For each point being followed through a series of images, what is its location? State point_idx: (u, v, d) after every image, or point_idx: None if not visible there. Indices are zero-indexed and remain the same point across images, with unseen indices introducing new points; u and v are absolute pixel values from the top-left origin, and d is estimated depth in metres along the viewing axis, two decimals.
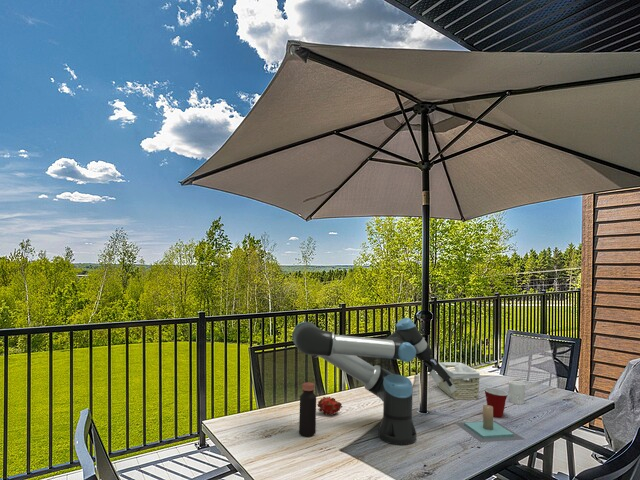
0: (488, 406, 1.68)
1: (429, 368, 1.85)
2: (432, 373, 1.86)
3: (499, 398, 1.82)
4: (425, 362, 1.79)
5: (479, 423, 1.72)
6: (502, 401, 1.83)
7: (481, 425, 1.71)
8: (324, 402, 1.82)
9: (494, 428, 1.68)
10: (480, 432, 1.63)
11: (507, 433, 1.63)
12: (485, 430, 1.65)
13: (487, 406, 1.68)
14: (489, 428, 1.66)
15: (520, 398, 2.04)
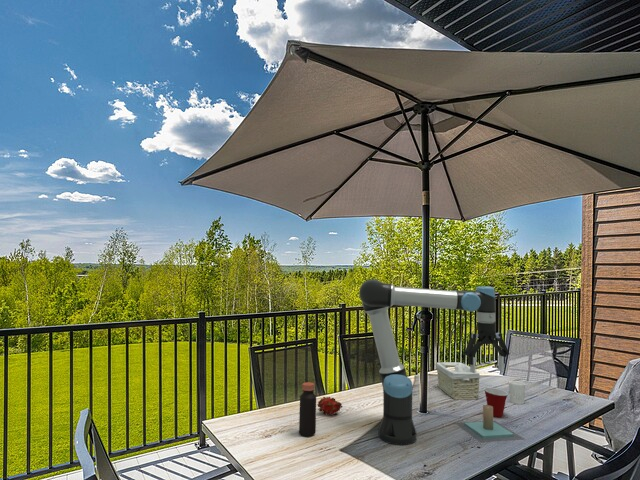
0: (488, 406, 1.68)
1: (497, 350, 1.72)
2: (499, 358, 1.72)
3: (499, 398, 1.82)
4: None
5: (479, 423, 1.72)
6: (502, 401, 1.83)
7: (481, 425, 1.71)
8: (324, 402, 1.82)
9: (494, 428, 1.68)
10: (480, 432, 1.63)
11: (507, 433, 1.63)
12: (485, 430, 1.65)
13: (487, 406, 1.68)
14: (489, 428, 1.66)
15: (520, 398, 2.04)
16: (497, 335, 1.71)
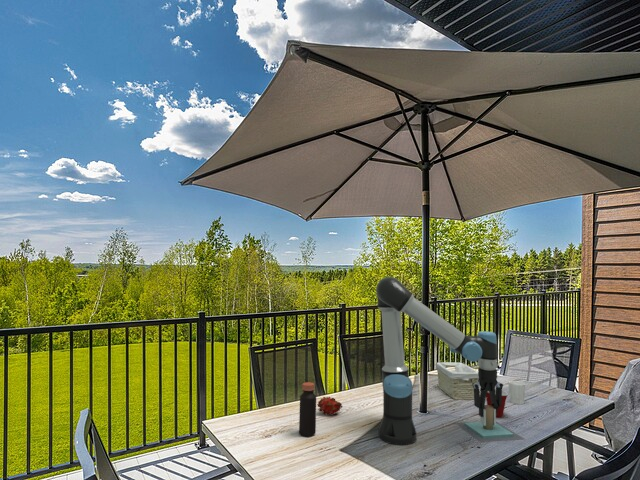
0: (488, 406, 1.68)
1: (491, 400, 1.69)
2: None
3: None
4: None
5: (479, 423, 1.72)
6: (502, 401, 1.83)
7: (481, 425, 1.71)
8: (324, 402, 1.82)
9: (494, 428, 1.68)
10: (480, 432, 1.63)
11: (507, 433, 1.63)
12: (485, 430, 1.65)
13: (487, 406, 1.68)
14: (489, 428, 1.66)
15: (520, 398, 2.04)
16: (498, 384, 1.70)
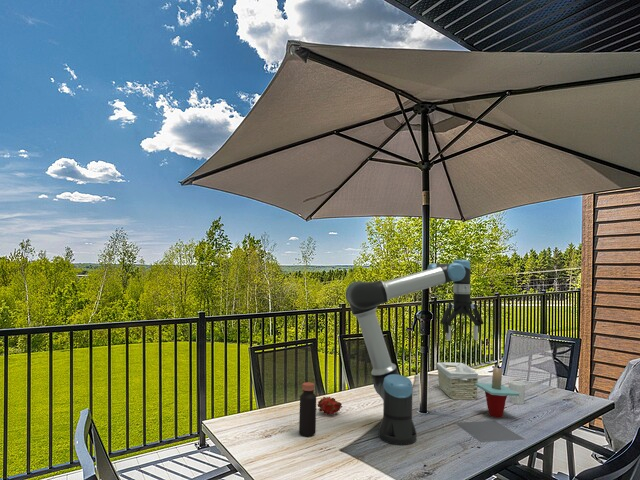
0: (498, 369, 1.88)
1: (472, 320, 1.81)
2: (474, 327, 1.81)
3: (499, 398, 1.82)
4: None
5: (487, 384, 1.92)
6: (502, 401, 1.83)
7: (490, 386, 1.90)
8: (324, 402, 1.82)
9: (501, 388, 1.87)
10: (489, 390, 1.82)
11: (513, 392, 1.82)
12: (493, 389, 1.84)
13: (497, 369, 1.88)
14: (497, 388, 1.85)
15: (520, 398, 2.04)
16: (472, 306, 1.81)
